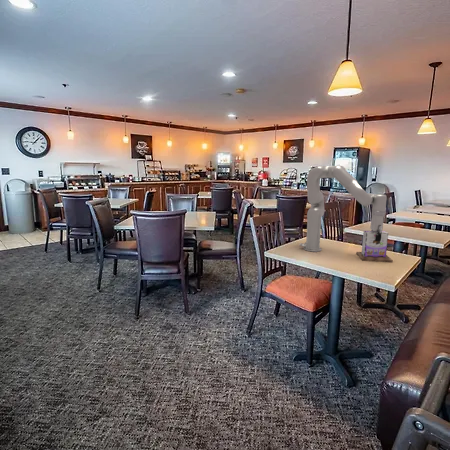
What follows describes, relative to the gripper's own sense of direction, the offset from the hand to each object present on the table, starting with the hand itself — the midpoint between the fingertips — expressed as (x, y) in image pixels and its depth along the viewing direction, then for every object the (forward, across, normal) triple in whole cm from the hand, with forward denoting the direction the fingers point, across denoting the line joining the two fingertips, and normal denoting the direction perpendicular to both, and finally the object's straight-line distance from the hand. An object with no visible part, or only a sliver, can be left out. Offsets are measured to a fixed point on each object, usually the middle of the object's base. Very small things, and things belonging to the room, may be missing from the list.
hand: (375, 239), depth 196 cm
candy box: (+12, 0, 0) cm, 12 cm away
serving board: (+13, 0, 0) cm, 13 cm away
